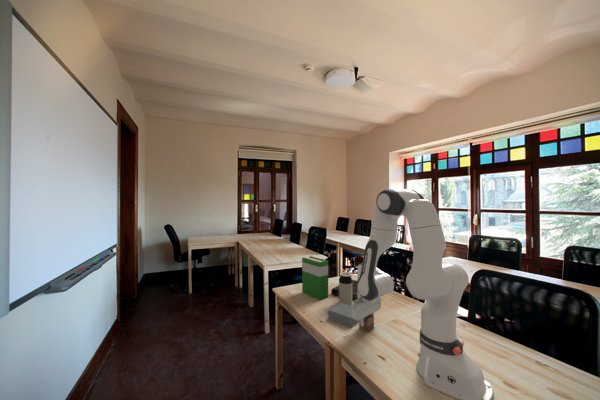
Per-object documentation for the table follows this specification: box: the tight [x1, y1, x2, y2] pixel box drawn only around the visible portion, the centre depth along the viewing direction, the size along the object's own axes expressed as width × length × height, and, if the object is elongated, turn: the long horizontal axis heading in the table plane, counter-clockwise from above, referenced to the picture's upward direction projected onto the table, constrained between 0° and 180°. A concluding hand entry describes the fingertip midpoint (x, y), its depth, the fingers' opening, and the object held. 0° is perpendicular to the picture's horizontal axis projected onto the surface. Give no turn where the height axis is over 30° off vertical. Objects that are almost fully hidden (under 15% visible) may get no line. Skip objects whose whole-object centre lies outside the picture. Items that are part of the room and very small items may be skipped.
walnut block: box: [358, 315, 375, 333], centre depth 118 cm, size 5×5×6 cm
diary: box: [331, 279, 358, 302], centre depth 165 cm, size 19×25×5 cm
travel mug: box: [338, 271, 353, 306], centre depth 147 cm, size 8×8×18 cm
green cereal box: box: [301, 255, 329, 301], centre depth 160 cm, size 18×7×24 cm, turn 39°
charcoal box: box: [327, 302, 359, 328], centre depth 128 cm, size 14×12×5 cm
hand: (366, 323), depth 118 cm, fingers closed on walnut block, 5 cm apart
